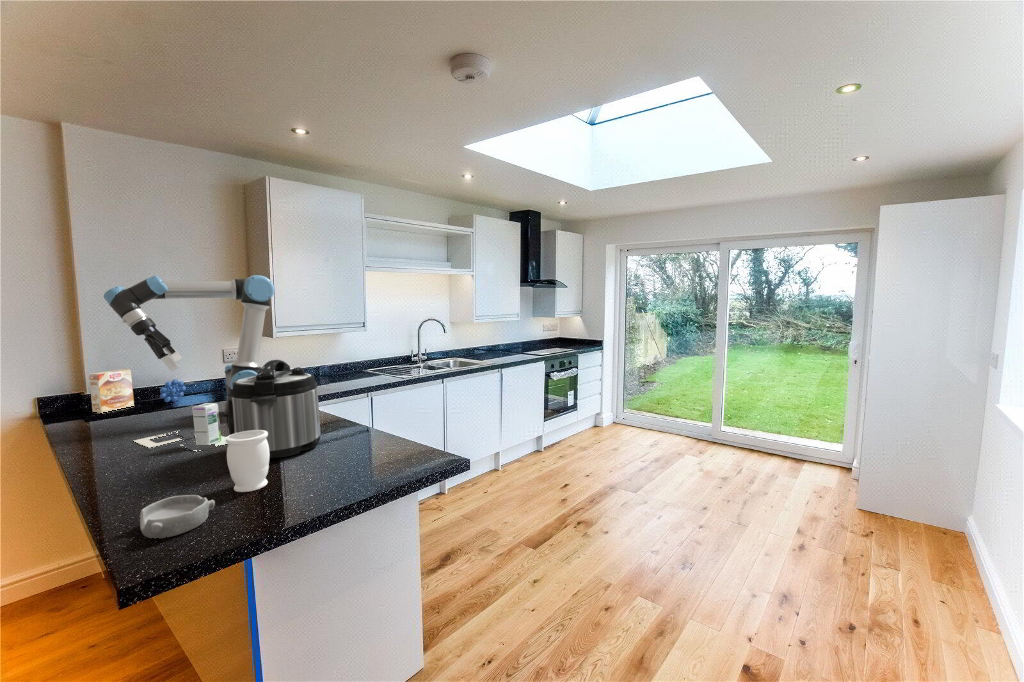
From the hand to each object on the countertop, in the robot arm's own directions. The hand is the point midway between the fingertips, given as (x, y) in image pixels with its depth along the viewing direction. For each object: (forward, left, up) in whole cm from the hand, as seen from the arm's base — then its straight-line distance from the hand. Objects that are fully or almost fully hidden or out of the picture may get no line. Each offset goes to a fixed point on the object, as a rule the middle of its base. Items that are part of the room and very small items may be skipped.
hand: (177, 365), depth 188 cm
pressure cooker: (-8, +58, -28) cm, 65 cm away
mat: (+2, +29, -27) cm, 40 cm away
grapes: (-23, -73, -28) cm, 81 cm away
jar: (+14, +84, -28) cm, 89 cm away
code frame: (+8, +7, -27) cm, 29 cm away
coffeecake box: (+1, -78, -28) cm, 83 cm away
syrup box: (+2, +29, -27) cm, 40 cm away
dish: (+35, +92, -28) cm, 102 cm away
